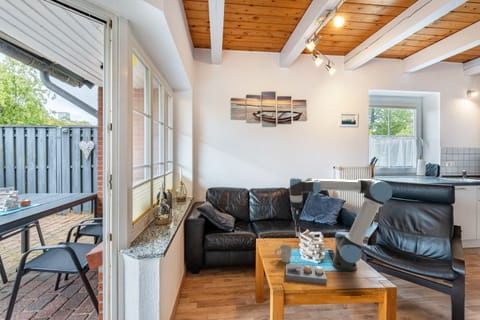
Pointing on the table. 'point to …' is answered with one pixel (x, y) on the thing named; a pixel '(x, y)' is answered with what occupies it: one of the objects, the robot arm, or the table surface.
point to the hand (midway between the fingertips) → (297, 232)
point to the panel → (305, 275)
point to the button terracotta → (307, 269)
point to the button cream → (319, 270)
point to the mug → (284, 252)
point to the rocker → (294, 266)
